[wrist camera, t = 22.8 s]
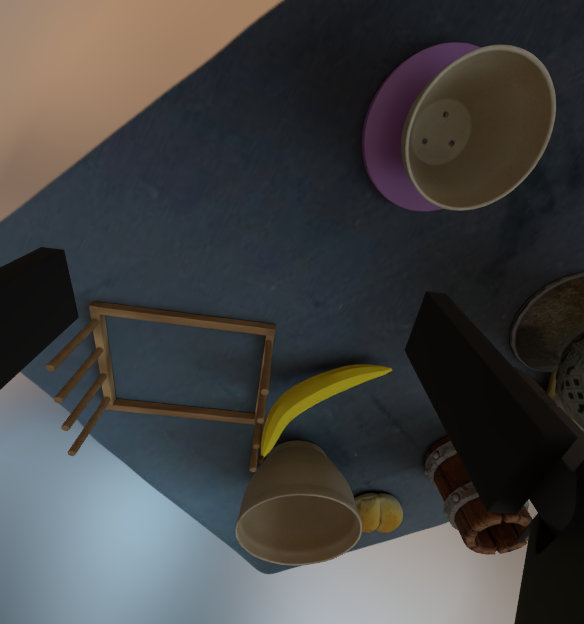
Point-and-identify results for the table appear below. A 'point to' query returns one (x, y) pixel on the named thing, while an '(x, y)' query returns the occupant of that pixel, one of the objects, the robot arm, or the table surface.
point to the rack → (111, 403)
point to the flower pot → (479, 127)
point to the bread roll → (379, 512)
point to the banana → (313, 397)
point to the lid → (401, 122)
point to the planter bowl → (298, 508)
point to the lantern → (555, 338)
